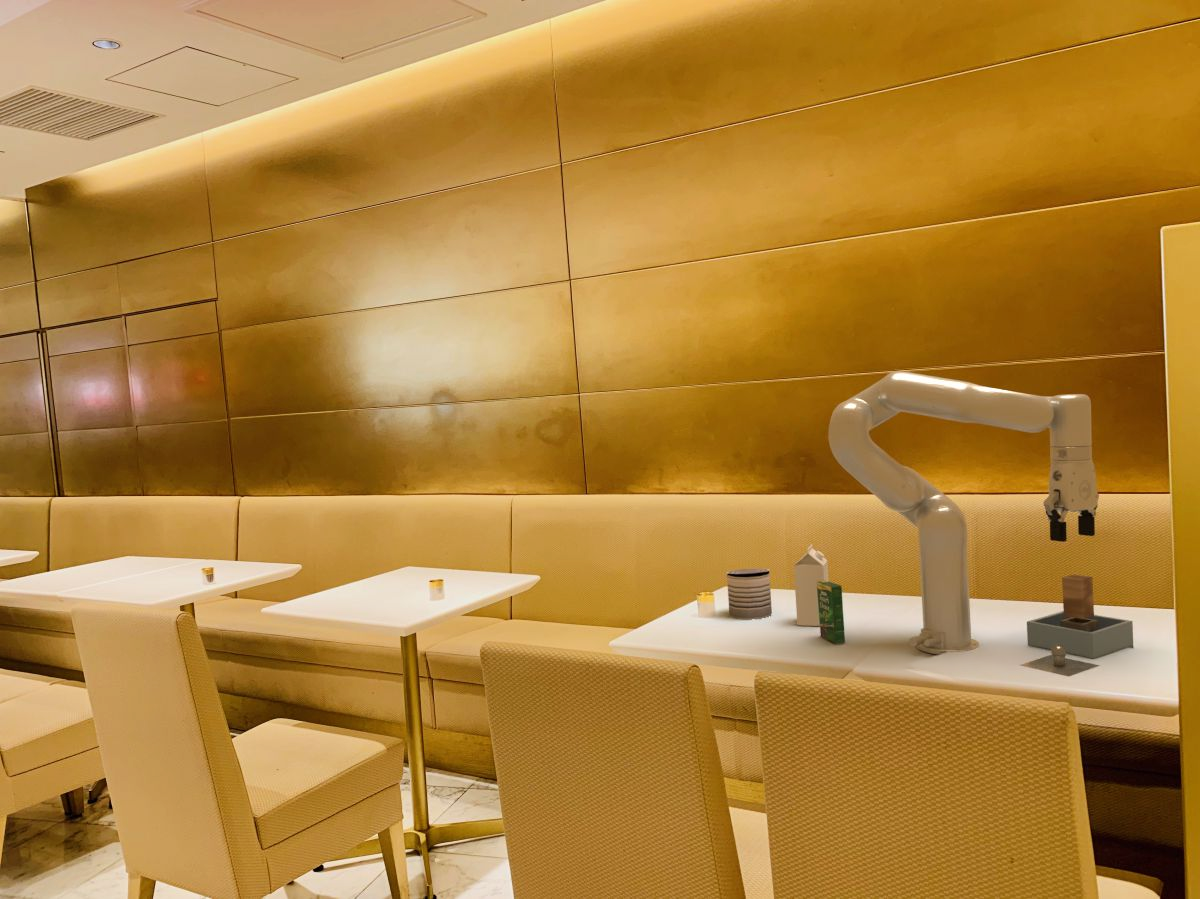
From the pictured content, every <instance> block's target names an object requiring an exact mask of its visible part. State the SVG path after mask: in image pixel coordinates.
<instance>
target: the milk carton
mask: <svg viewBox="0 0 1200 899" xmlns="http://www.w3.org/2000/svg"><path fill="white" fill-rule="evenodd" d="M813 546H814V545H813V544H810V545H809V546H808V548H807V549H806V551H807V552H806V553H805V554H804V555H803V556H802V557H801V558H800V559H798V561H797V562H795V563H794V565H793V572H794V573H793V574H794V575H793V576H794V588H795V590H794V592H795V608H796V610H795V611H796V624H797V626H804V627H807V626H808V627H810V626H811V627H820V620H819V607H818V594H817V582H818V581H829V582H830V580H829V567H828V566H829V563H828V560H827V559H826V558H825V555H824V553H822V551H819V550H817V551H816V550H815V549H814V547H813Z"/></svg>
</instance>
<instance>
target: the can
mask: <svg viewBox="0 0 1200 899" xmlns="http://www.w3.org/2000/svg"><path fill="white" fill-rule="evenodd" d="M770 571H771V569H770V568H747V569H746V568H745V569H744V568H742V569H736V570H729V571H727V572H725V574H726V580H727V581H726V582H727V597H728V598H727V599H728V612H729V613H728V614H729V617H730V618H732V619H735V620H743V621H744V620H745V621H753V620H752V619H755V620H763V619H762V618H764V619H767V618H770V617H772V615H771V614H773V610H772V608H773V607H772V594H771V593H772V592H771V578H770V576H771V575H770ZM769 616H770V617H769ZM766 617H767V618H766Z"/></svg>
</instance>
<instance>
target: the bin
mask: <svg viewBox="0 0 1200 899" xmlns="http://www.w3.org/2000/svg"><path fill="white" fill-rule="evenodd" d="M1067 618H1071V617H1068V616H1064V610H1062V611H1059V612H1058V611H1057V612H1055V613H1053V614H1048V615H1046V616H1041V617H1038V618H1034V619H1032V620H1028V621H1026V634H1027V646H1029V647H1032V648H1039V649H1043V650H1046V651H1051V650H1052V648H1053V647H1054V646H1055V645H1061V646H1063V647H1064V648H1065V649H1066V655H1071V656H1076V657H1081V658H1086V659H1091V660H1096V659H1098V658H1102V657H1104V656H1107V655H1110V654H1113V653H1116V652H1118V651H1122V650H1124V649H1127V648H1129V649H1134V632H1133V631H1134V628H1133V627H1134V626H1133V620H1128V619H1122V618H1116V617H1111V616H1103V615H1099V614H1098V615H1097V614H1094V616H1091V617H1088V618H1087V619H1093V620H1098V630H1097V631H1093V632H1087V631H1081V630H1076V629H1070V628H1065V627H1061V626H1060V621H1061V620H1064V619H1067Z"/></svg>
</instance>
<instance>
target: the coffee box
mask: <svg viewBox="0 0 1200 899" xmlns="http://www.w3.org/2000/svg"><path fill="white" fill-rule="evenodd" d="M842 589H843V588H842V585H841V584H838V583H834V582H831V581H830V580H829V581H818V582H817V594H818V607H819V620H820V626H819V630H820V631H819V632H820V637H822V638H823V639H825V640H827V641H829V642H831V643H832V644H834V645H840V644H844V643H846V639H845V638H846V636H845V622H844V621H845V620H844V608H843V607H844V606H843V590H842Z"/></svg>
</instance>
